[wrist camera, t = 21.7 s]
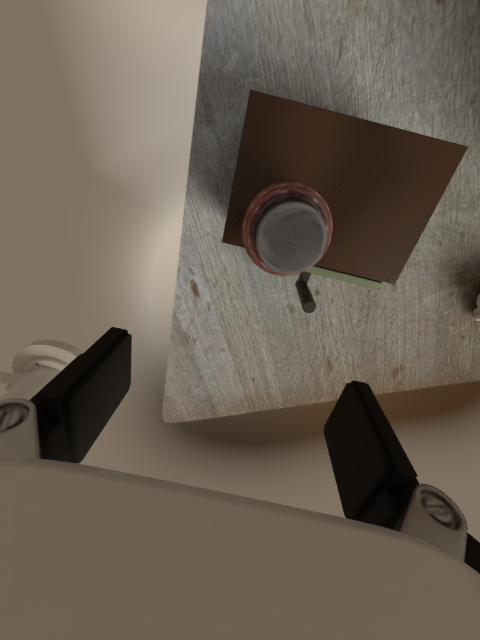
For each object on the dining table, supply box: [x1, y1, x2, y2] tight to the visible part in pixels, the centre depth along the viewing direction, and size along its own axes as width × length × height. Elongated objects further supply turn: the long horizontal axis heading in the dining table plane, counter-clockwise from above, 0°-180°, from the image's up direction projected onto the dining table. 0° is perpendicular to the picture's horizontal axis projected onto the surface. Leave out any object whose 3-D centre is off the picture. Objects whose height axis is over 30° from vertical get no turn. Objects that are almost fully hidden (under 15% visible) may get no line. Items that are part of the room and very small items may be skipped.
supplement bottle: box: [242, 182, 333, 276], centre depth 19 cm, size 6×6×11 cm
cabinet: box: [222, 90, 468, 284], centre depth 30 cm, size 18×12×14 cm, turn 77°
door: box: [296, 265, 382, 313], centre depth 34 cm, size 9×6×12 cm
